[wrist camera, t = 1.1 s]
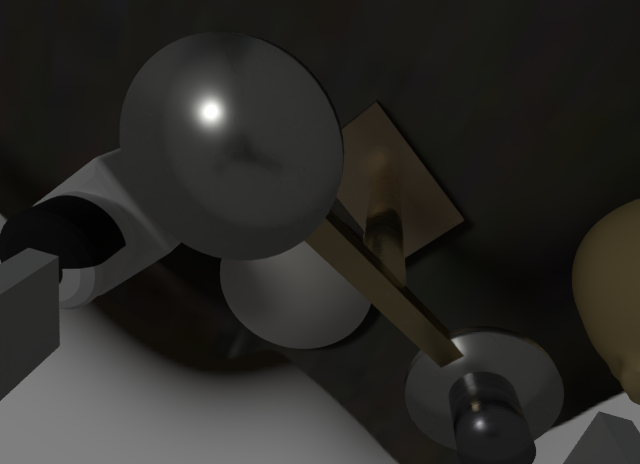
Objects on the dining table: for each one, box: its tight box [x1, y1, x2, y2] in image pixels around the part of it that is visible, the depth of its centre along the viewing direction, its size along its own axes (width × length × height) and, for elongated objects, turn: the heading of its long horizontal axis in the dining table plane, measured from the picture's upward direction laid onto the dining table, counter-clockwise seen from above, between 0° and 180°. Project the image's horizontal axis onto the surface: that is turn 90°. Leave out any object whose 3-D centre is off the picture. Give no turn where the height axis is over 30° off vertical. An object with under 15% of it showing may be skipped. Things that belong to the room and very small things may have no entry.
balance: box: [120, 32, 564, 464], centre depth 23 cm, size 22×7×18 cm, turn 39°
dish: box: [220, 224, 371, 349], centre depth 35 cm, size 12×12×1 cm
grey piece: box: [0, 148, 181, 309], centre depth 29 cm, size 7×7×12 cm
